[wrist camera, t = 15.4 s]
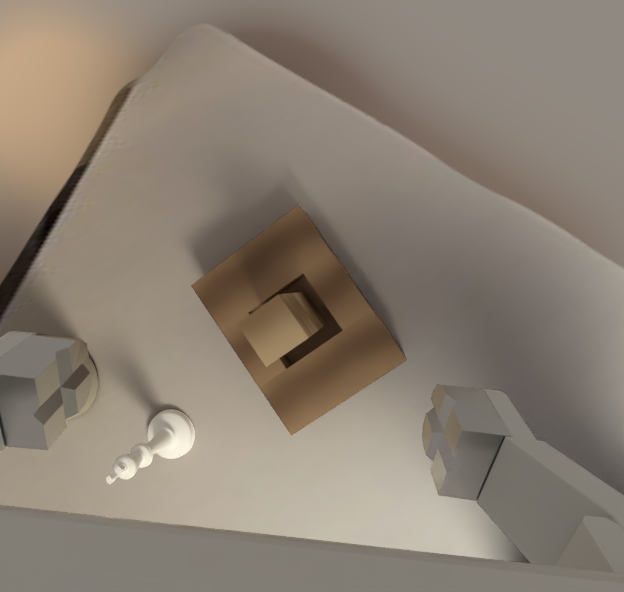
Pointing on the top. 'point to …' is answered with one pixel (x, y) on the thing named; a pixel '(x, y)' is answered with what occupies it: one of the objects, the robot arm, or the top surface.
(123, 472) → the chess piece
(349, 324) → the socket block
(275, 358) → the pin
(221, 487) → the top surface
